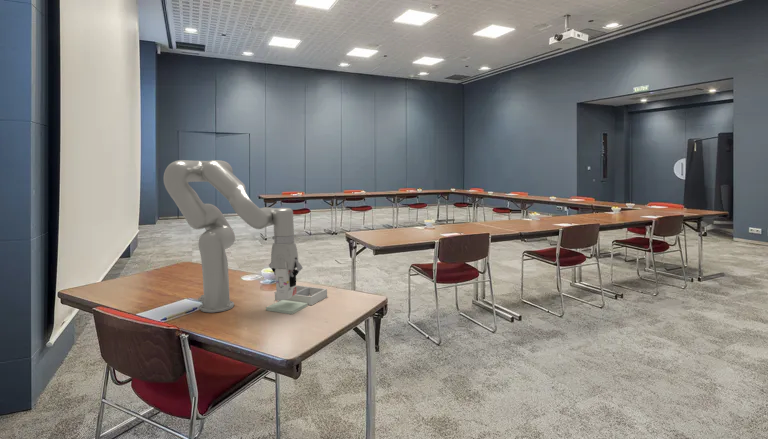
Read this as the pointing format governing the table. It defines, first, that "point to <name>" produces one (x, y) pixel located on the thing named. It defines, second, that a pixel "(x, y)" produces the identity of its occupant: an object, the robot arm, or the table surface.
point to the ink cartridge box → (284, 284)
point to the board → (286, 306)
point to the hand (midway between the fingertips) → (286, 284)
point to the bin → (306, 295)
